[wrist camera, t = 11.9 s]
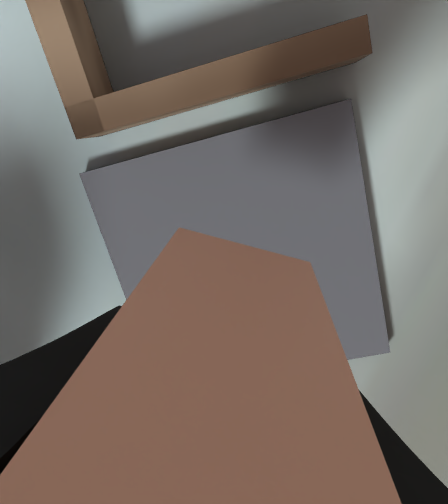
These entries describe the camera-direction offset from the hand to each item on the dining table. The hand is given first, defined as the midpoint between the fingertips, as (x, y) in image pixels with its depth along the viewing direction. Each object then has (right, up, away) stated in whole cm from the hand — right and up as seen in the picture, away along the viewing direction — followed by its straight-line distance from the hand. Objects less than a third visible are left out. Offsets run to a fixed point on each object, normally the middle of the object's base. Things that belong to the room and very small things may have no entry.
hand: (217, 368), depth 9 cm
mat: (+1, +2, +10) cm, 10 cm away
